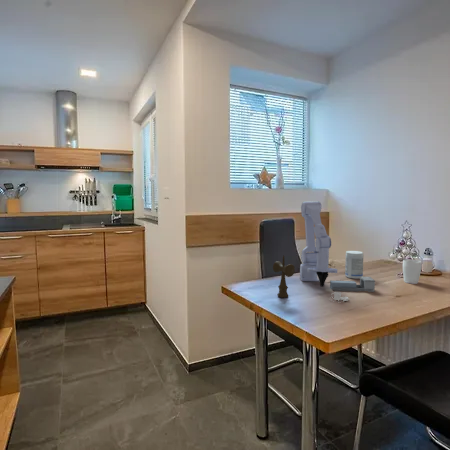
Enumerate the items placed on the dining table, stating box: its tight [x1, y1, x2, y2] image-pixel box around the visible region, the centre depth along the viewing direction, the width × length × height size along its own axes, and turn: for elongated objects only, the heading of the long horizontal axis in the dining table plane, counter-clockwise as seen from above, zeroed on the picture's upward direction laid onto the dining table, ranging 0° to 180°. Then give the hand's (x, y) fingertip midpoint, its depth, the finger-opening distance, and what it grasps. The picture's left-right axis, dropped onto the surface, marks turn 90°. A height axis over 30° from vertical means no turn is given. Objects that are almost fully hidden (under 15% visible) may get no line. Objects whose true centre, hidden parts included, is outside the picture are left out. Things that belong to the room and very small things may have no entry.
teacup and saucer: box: [330, 291, 350, 302], centre depth 144 cm, size 9×8×4 cm
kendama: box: [272, 255, 296, 299], centre depth 148 cm, size 6×10×20 cm, turn 33°
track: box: [332, 276, 376, 293], centre depth 161 cm, size 20×7×6 cm, turn 84°
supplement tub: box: [344, 250, 364, 280], centre depth 183 cm, size 10×10×15 cm
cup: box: [402, 258, 423, 285], centre depth 172 cm, size 9×9×12 cm
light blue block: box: [329, 280, 357, 290], centre depth 161 cm, size 12×4×4 cm, turn 83°
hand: (321, 286), depth 162 cm, fingers closed
